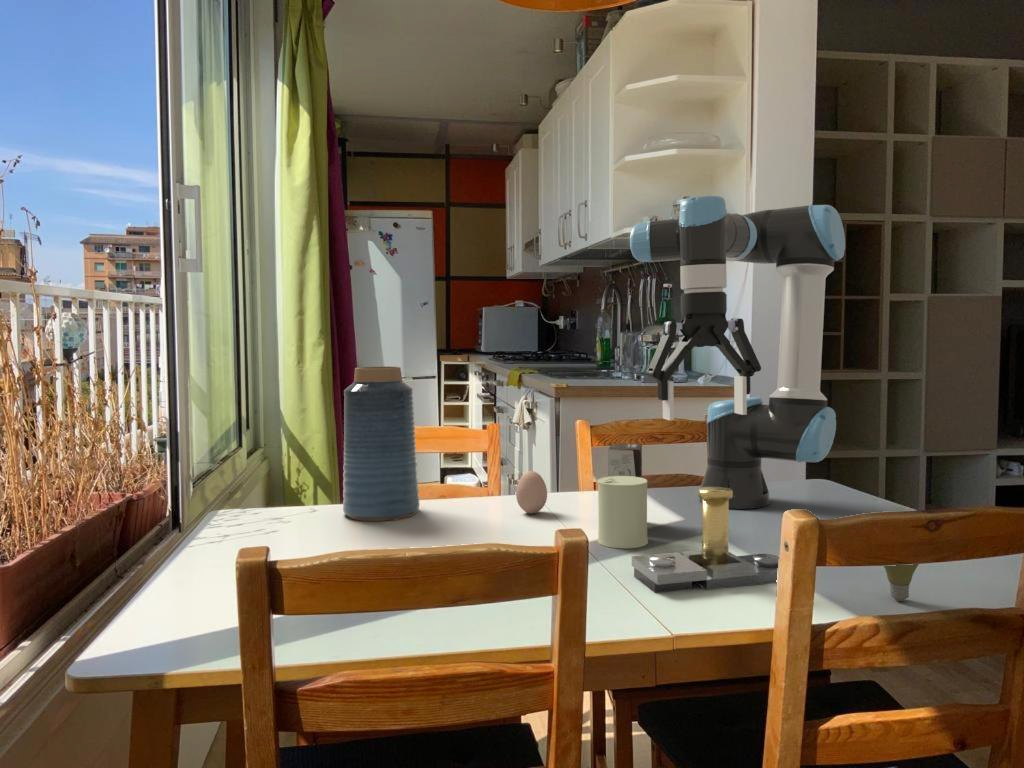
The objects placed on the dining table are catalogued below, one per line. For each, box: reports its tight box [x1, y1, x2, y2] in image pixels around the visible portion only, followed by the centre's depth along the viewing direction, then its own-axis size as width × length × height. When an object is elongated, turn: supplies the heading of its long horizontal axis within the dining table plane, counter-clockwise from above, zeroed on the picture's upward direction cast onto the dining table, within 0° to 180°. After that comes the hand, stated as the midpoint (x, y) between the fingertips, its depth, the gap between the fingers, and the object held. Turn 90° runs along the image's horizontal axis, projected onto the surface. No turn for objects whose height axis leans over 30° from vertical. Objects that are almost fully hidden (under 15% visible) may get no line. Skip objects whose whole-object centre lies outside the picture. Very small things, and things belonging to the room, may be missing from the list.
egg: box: [515, 470, 548, 515], centre depth 174 cm, size 7×7×9 cm
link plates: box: [631, 550, 780, 593], centre depth 128 cm, size 24×10×4 cm, turn 104°
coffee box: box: [607, 442, 643, 478], centre depth 162 cm, size 9×6×16 cm
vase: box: [342, 365, 420, 522], centre depth 175 cm, size 16×16×32 cm
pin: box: [697, 487, 733, 570], centre depth 128 cm, size 5×5×14 cm
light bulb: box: [883, 563, 920, 602], centre depth 117 cm, size 6×6×10 cm
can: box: [597, 476, 649, 550], centre depth 150 cm, size 9×9×12 cm
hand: (704, 416), depth 139 cm, fingers open, 13 cm apart
